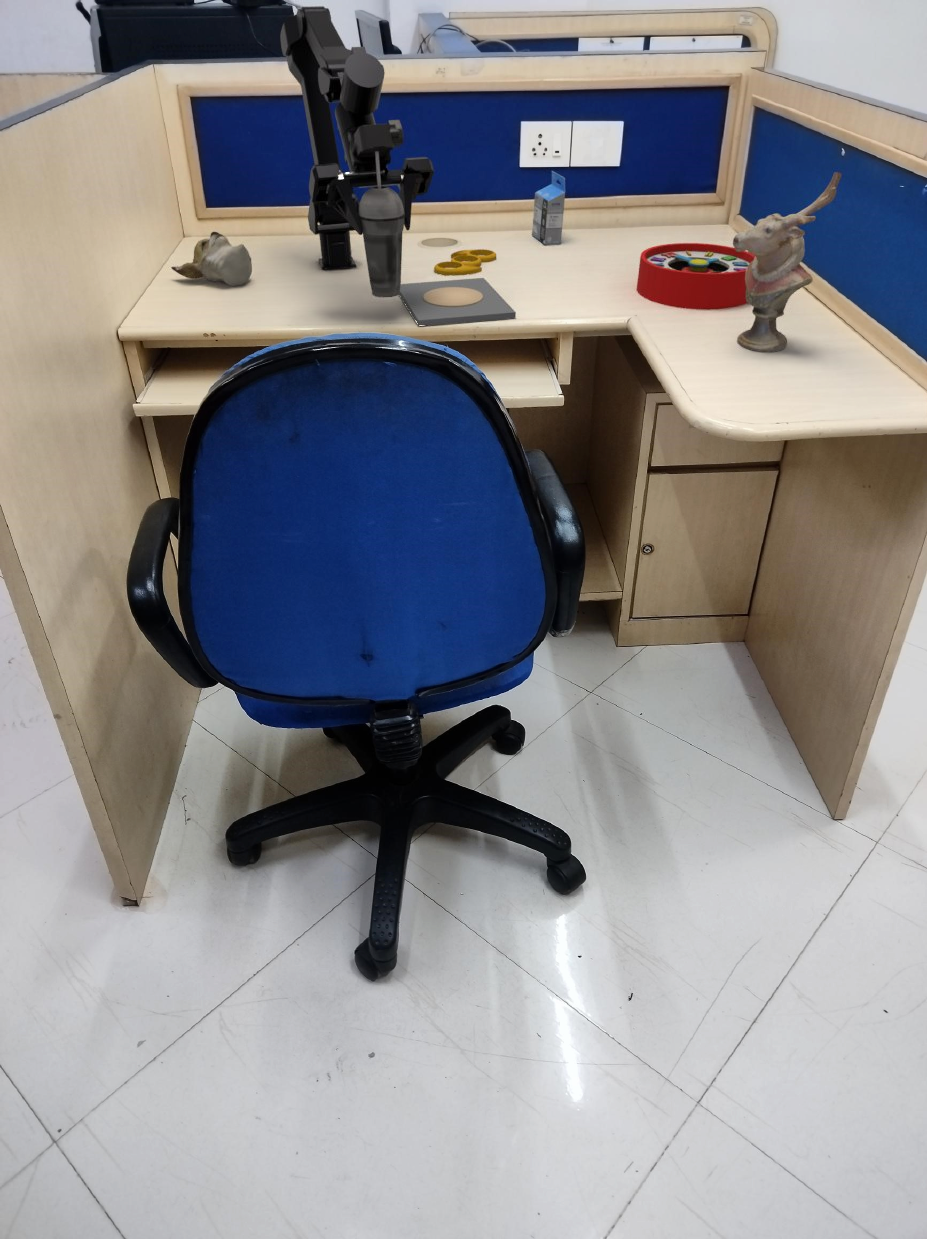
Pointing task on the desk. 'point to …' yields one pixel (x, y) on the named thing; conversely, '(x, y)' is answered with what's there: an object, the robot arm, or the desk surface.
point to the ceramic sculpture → (218, 261)
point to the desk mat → (454, 302)
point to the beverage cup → (382, 236)
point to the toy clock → (694, 275)
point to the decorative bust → (775, 270)
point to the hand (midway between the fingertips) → (385, 230)
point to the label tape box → (549, 212)
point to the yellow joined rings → (465, 267)
